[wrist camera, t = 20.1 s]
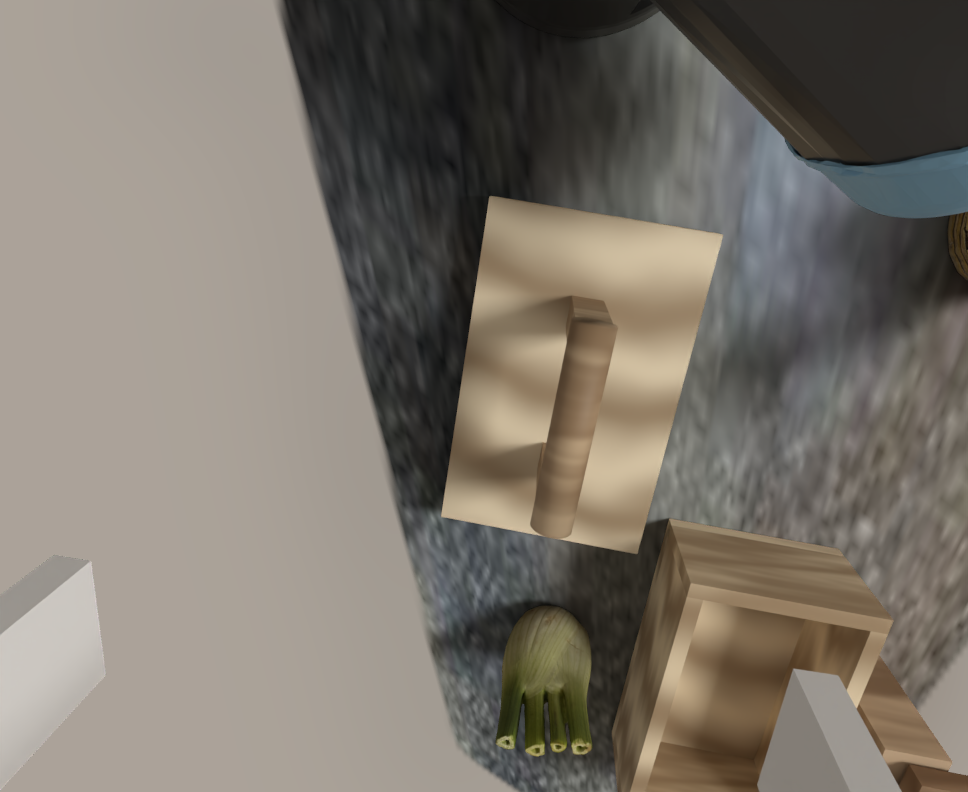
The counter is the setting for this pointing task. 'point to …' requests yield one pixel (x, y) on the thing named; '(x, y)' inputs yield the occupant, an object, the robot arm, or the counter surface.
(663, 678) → the toolbox
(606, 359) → the lid
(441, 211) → the counter surface
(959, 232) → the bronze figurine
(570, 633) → the fennel bulb
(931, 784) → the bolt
